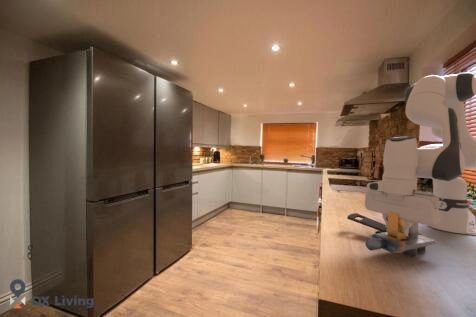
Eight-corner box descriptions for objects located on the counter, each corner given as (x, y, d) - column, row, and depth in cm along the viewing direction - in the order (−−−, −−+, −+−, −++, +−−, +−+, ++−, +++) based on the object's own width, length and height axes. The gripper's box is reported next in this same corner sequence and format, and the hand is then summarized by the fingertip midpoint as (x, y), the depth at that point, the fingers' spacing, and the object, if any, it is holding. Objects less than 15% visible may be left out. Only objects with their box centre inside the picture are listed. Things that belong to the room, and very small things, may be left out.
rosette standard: (400, 246, 78) (403, 196, 77) (434, 258, 68) (437, 202, 68) (354, 255, 69) (356, 199, 68) (386, 271, 60) (389, 206, 59)
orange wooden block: (394, 247, 71) (396, 210, 71) (404, 251, 68) (406, 213, 68) (386, 249, 69) (388, 211, 69) (396, 253, 67) (398, 214, 66)
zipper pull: (355, 212, 95) (429, 229, 75) (354, 226, 96) (428, 247, 76) (344, 216, 90) (421, 235, 70) (344, 231, 90) (420, 255, 70)
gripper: (446, 193, 60) (443, 242, 60) (374, 183, 79) (373, 220, 79) (432, 193, 57) (430, 245, 58) (362, 183, 76) (360, 222, 77)
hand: (396, 231), depth 69 cm, fingers closed on orange wooden block, 3 cm apart
